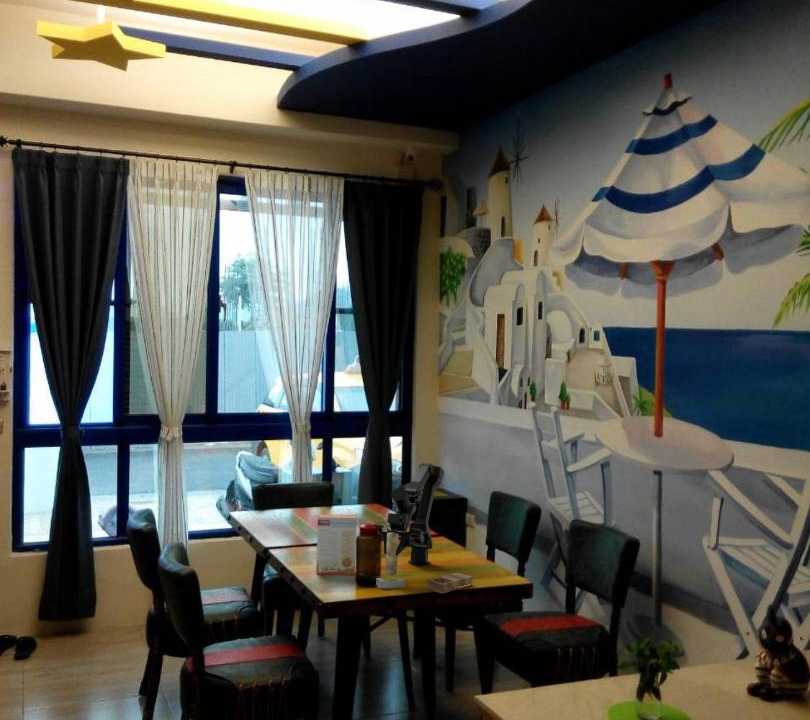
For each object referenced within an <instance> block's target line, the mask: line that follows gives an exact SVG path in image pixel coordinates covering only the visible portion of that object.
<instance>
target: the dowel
mask: <svg viewBox="0 0 810 720" xmlns="http://www.w3.org/2000/svg"><path fill="white" fill-rule="evenodd" d="M398 535H399V534H398V533H393V532H391V533H387V549H386V554H385V575H388V576H395V575H397V574H398V557H399V555H398V556H396V551H397V548H398V545H399V537H398Z"/></svg>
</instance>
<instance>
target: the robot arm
mask: <svg viewBox="0 0 810 720" xmlns="http://www.w3.org/2000/svg"><path fill="white" fill-rule="evenodd" d="M444 475H445V470H444V469H443V467H442V466H440V465H439V466H438V465H437V466H436V465H434V464H432V463H429V462H421V463H419V465H418V469H417V471H416V472H415V474H414V476H413V478H412V479H411V481H410V482H409V483H406V484H404V485H399V486H398V488H394V490H392V491H391V494H390V496H391V499H392V502H393V504H394V508H396V509H397V510H396V511H395V513H393V512H391V513H390V512H389V513H388V514H387V519H386V523H388V527H389V528H390V529H389V528H387V527H385V525H383V524H379V523H374V524H372V525H374V526H376V527H377V528H378V530H379V536H380V539H379V540H382V542H383V553H384V555H386V549H387V533H391V532H393V533H398V534H399V535H398V538H400V541H399V542H398V548H397V551H396V556H398V557H399V556H400V554H401V553H402V552H403V551H404V550H405V549H407V548H411V549H410V550H411V551H410V560H408V561H407V563H408V564H411V565H415V566H419V567H421V566H425V564H426V565H429V563H430V564H431V563H432V562H431V561H429V550H432V549H433V545H434V544H433V543H434V541H433V538H432V536H431V530H430V527H429V519H430V515H431V511H432V508H433V507H432V505H433V502H434V496H435V494H436V493H435V492H436V490H437V488H438V487H440V486H441V484H442V480H443V479H444ZM413 504H414V505H418V504H419V506H418V509H417V510H418V511H417V514H416V518H415V520H414V521H413V522H411V519H412V516H413V515H414V514H415V507H414V505H413ZM408 528H409V529H408Z"/></svg>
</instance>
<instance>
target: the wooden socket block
mask: <svg viewBox="0 0 810 720" xmlns="http://www.w3.org/2000/svg"><path fill="white" fill-rule="evenodd" d="M471 583H472V584H473V576H472V575H469V574H468V575H467V574H463V573H461V572H454V573H450V574H445V575H443V576H438V577H434V578H432V579H427V580H426V589H427V590H429V591H433V592H436V593H439V594H447V593H449V592H452V590H453V589H455V588H458V587H461V586H464V585H468V584H471ZM453 591H454V590H453Z"/></svg>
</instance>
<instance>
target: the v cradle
mask: <svg viewBox="0 0 810 720" xmlns="http://www.w3.org/2000/svg"><path fill="white" fill-rule="evenodd" d="M405 583H406V580H405V579H404V578H398V579H386V580H384V579H382V578H381V577H379V578H376V585H377V586H376V585H375V586H376V587H377V588H379V589H381V590H382V589H383V590H388V589H389V590H390V589H400V588H401V589H402V588H405V585H406V584H405Z"/></svg>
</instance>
